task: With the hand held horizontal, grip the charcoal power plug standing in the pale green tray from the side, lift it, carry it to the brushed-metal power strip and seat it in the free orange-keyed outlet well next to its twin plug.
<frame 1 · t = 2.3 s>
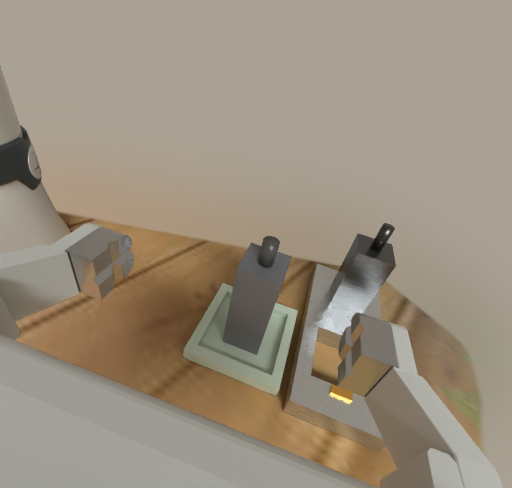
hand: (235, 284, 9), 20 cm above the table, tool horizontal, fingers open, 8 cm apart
tray: (244, 335, 31), on the table
plug: (245, 333, 31), resting on tray
pdu strip: (336, 341, 33), on the table
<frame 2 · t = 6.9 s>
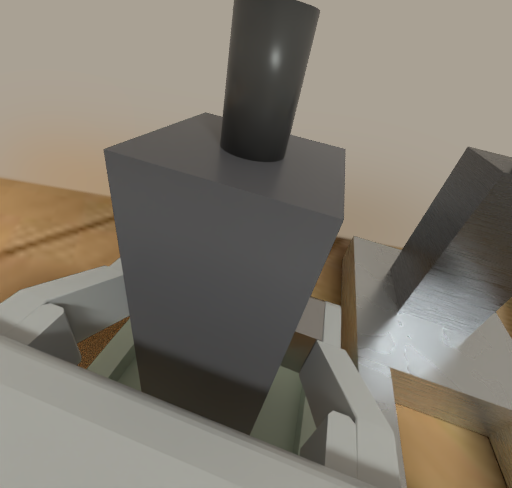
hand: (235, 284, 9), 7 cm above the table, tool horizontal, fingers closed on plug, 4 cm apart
tray: (210, 395, 13), on the table
plug: (211, 390, 12), point 1 cm above the table, touching gripper, tray
pdu strip: (422, 394, 15), on the table
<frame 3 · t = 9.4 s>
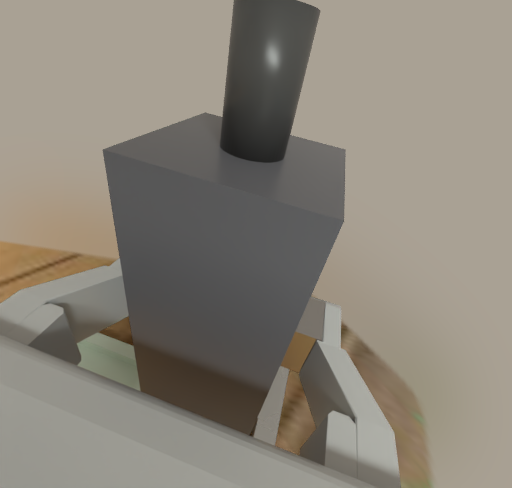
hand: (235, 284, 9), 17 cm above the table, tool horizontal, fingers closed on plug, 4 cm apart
tray: (67, 405, 20), on the table
plug: (211, 390, 12), point 11 cm above the table, touching gripper
pdu strip: (220, 403, 22), on the table
when the fingers open (7 cm above the table, at t = 11.9 s): plug stays where it is, resting in pdu strip.
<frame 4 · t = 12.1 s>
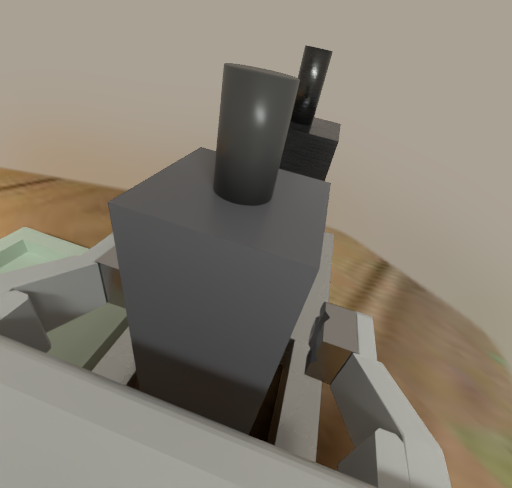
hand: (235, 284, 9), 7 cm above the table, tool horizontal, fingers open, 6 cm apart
tray: (23, 325, 14), on the table
plug: (209, 400, 13), resting in pdu strip
pdu strip: (237, 332, 16), on the table
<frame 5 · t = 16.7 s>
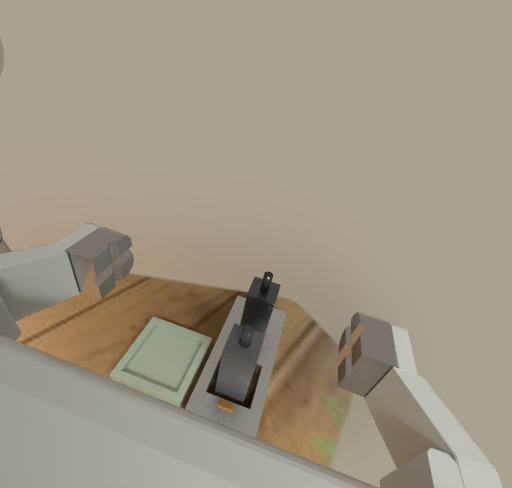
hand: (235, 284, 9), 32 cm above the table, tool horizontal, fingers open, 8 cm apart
tray: (165, 360, 39), on the table
plug: (232, 387, 38), resting in pdu strip
pdu strip: (242, 361, 41), on the table
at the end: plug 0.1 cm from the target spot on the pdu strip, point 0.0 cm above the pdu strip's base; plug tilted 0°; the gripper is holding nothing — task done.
